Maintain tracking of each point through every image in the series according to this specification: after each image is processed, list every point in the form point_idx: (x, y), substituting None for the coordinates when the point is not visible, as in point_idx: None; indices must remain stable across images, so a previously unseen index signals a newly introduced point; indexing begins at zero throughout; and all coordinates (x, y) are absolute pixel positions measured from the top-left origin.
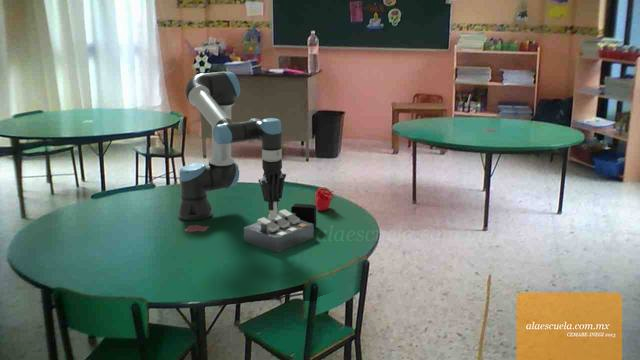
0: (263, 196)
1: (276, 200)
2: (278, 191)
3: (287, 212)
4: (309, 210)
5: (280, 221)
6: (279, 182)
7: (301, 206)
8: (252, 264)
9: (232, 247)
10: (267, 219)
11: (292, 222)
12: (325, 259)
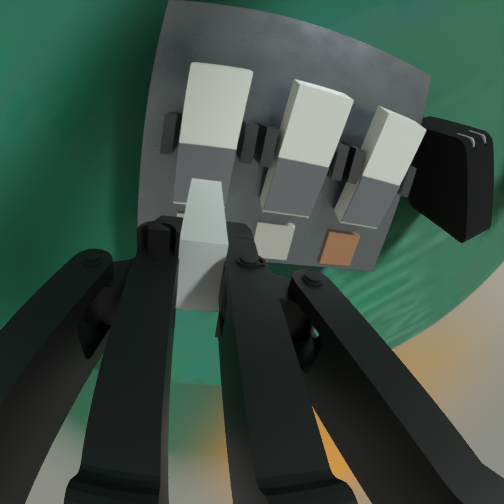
0: (39, 295)
1: (218, 317)
2: (314, 365)
3: (402, 157)
4: (457, 222)
5: (280, 182)
6: (390, 471)
7: (472, 188)
8: (33, 214)
9: (94, 34)
10: (242, 110)
11: (339, 205)
12: (205, 353)
